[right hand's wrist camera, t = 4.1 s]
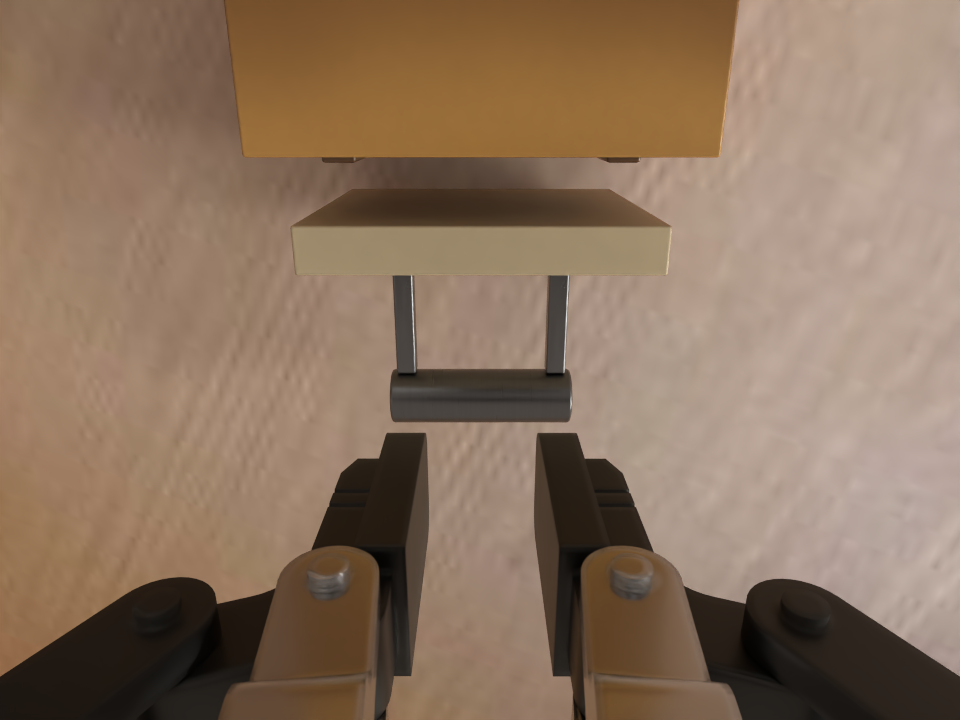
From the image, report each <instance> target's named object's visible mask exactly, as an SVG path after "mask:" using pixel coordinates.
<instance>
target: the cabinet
mask: <svg viewBox="0 0 960 720" xmlns="http://www.w3.org/2000/svg"><path fill="white" fill-rule="evenodd" d="M224 5H225V14H226V22H227V30H228V38H229V47H230V55H231V63H232V72H233V80H234V88H235V96H236V105H237V113H238V121H239V130H240V138H241V146H242V154H243V156H244V157H719V156H720V154H721V146H722V137H723V129H724V121H725V113H726V105H727V96H728V88H729V80H730V72H731V64H732V55H733V47H734V39H735V31H736V23H737V14H738V6H739V0H224Z"/></svg>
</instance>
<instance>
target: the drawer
mask: <svg viewBox="0 0 960 720" xmlns="http://www.w3.org/2000/svg"><path fill="white" fill-rule="evenodd" d="M364 158H366V157H322V161H323V162H325V163H354V162H356V161H359V160H361V159H364ZM597 158H599V159H602V160H604V161H607V162H609V163H637V162H639V161H640V159H641V157H597ZM671 233H672V227H671V226H670V225H668V224H667V223H665V222H663V221H662V220H660V219H658V218H657V217H655V216H653V215H652V214H650V213H648V212H647V211H645V210H643V209H641V208H640V207H638V206H636V205H635V204H633V203H631V202H630V201H628V200H626V199H625V198H623V197H621V196H620V195H618V194H616V193H615V192H613V191H611V190H609V189H353V190H351V191H349V192H347V193H346V194H344V195H342V196H341V197H339V198H337V199H336V200H334V201H332V202H331V203H329V204H327V205H326V206H324V207H323V208H321V209H319V210H318V211H316V212H314V213H313V214H311V215H309V216H308V217H306V218H304V219H303V220H301V221H299V222H298V223H296V224H294V225H293V226H291V237H292V247H293V257H294V267H295V274H296V275H393V292H394V313H395V335H396V356H397V369H395V370H393V372H392V376H391V383H390V411H391V417H392V420H393V421H394V422H568V421H569V420H570V417H571V412H572V382H571V375H570V372H569V370H567V369H565V358H566V337H567V317H568V296H569V275H667V273H668V263H669V253H670V243H671ZM414 275H548V287H547V314H546V341H545V369H417V339H416V311H415V283H414Z"/></svg>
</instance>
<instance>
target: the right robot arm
mask: <svg viewBox="0 0 960 720" xmlns="http://www.w3.org/2000/svg"><path fill="white" fill-rule="evenodd" d="M534 528H535V540H536V548H537V556H538V564H539V571H540V579H541V587H542V594H543V602H544V610H545V617H546V625H547V633H548V640H549V648H550V656H551V663H552V671H553V676H571V682H572V688H573V704H572V719H571V720H960V677H959V676H958V675H956V674H955V673H953V672H952V671H950V670H949V669H947V668H946V667H944V666H943V665H941V664H940V663H938V662H937V661H935V660H934V659H932V658H931V657H929V656H927V655H926V654H924V653H923V652H921V651H920V650H918V649H917V648H915V647H914V646H912V645H911V644H909V643H908V642H906V641H905V640H903V639H902V638H900V637H899V636H897V635H895V634H894V633H892V632H891V631H889V630H888V629H886V628H885V627H883V626H882V625H880V624H879V623H877V622H876V621H874V620H873V619H871V618H870V617H868V616H867V615H865V614H864V613H862V612H860V611H859V610H857V609H856V608H854V607H853V606H851V605H850V604H848V603H847V602H845V601H844V600H842V599H841V598H839V597H838V596H836V595H834V594H832V593H831V592H829V591H827V590H825V589H823V588H821V587H818V586H815V585H812V584H809V583H806V582H802V581H797V580H791V579H772V580H766V581H763V582H760V583H758V584H757V585H755V586H754V587H753V588H752V589H751V590H750V591H749V593H748V595H747V600H746V604H744V603H739V602H735V601H730V600H726V599H721V598H717V597H712V596H709V595H705V594H702V593H699V592H696V591H693V590H691V589H689V588H687V587H685V586H684V585H683V582H682V579H681V576H680V574H679V572H678V571H677V569H676V568H675V567H674V566H673V565H672V564H671V563H670V562H669V561H667V560H666V559H665V558H663V557H661V556H660V555H658V554H656V553H654V552H653V549H652V547H651V544H650V542H649V539H648V537H647V534H646V531H645V529H644V526H643V524H642V521H641V519H640V516H639V514H638V511H637V509H636V507H635V506H634V501H633V499H632V496H631V494H630V493H629V489H628V486H627V484H626V481H625V478H624V476H623V473H622V472H620V471H619V470H618V469H617V468H616V467H614V466H613V465H612V464H611V463H610V462H609V461H607V460H606V459H584V455H583V452H582V449H581V445H580V442H579V439H578V436H577V434H576V433H538V434H537V441H536V466H535V496H534ZM428 530H429V492H428V460H427V438H426V433H387V434H386V437H385V440H384V444H383V447H382V450H381V454H380V457H379V459H357V460H356V461H355V462H354V463H352V464H351V465H350V466H349V467H348V468H346V469H345V470H344V471H343V472H342V473H341V475H340V477H339V480H338V482H337V485H336V488H335V493H333V495H332V498H331V501H330V503H329V507H328V508H327V511H326V514H325V516H324V519H323V521H322V524H321V526H320V529H319V532H318V534H317V537H316V539H315V542H314V545H313V547H312V550H311V551H309V552H306V553H304V554H302V555H300V556H299V557H297V558H295V559H294V560H293V561H291V562H290V563H289V564H288V565H287V566H286V567H285V568H284V569H283V571H282V572H281V574H280V576H279V579H278V582H277V585H276V588H275V589H273V590H271V591H268V592H265V593H262V594H259V595H255V596H251V597H247V598H242V599H238V600H233V601H229V602H224V603H220V604H217V602H216V596H215V592H214V591H213V589H212V588H211V587H210V586H209V585H208V584H207V583H205V582H203V581H201V580H198V579H194V578H186V577H177V578H168V579H162V580H158V581H154V582H151V583H148V584H146V585H143V586H141V587H138V588H136V589H134V590H132V591H131V592H129V593H127V594H126V595H124V596H122V597H121V598H119V599H118V600H116V601H115V602H113V603H112V604H110V605H109V606H107V607H106V608H104V609H103V610H101V611H100V612H98V613H96V614H95V615H93V616H92V617H90V618H89V619H87V620H86V621H84V622H83V623H81V624H80V625H78V626H77V627H75V628H74V629H72V630H71V631H69V632H68V633H66V634H65V635H63V636H61V637H60V638H58V639H57V640H55V641H54V642H52V643H51V644H49V645H48V646H46V647H45V648H43V649H42V650H40V651H39V652H37V653H36V654H34V655H33V656H31V657H29V658H28V659H26V660H25V661H23V662H22V663H20V664H19V665H17V666H16V667H14V668H13V669H11V670H10V671H8V672H7V673H5V674H4V675H2V676H1V677H0V720H389V719H388V703H389V701H390V697H391V692H392V685H393V679H394V676H411V672H412V664H413V656H414V648H415V640H416V631H417V623H418V615H419V607H420V599H421V591H422V583H423V574H424V566H425V558H426V550H427V542H428Z"/></svg>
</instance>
